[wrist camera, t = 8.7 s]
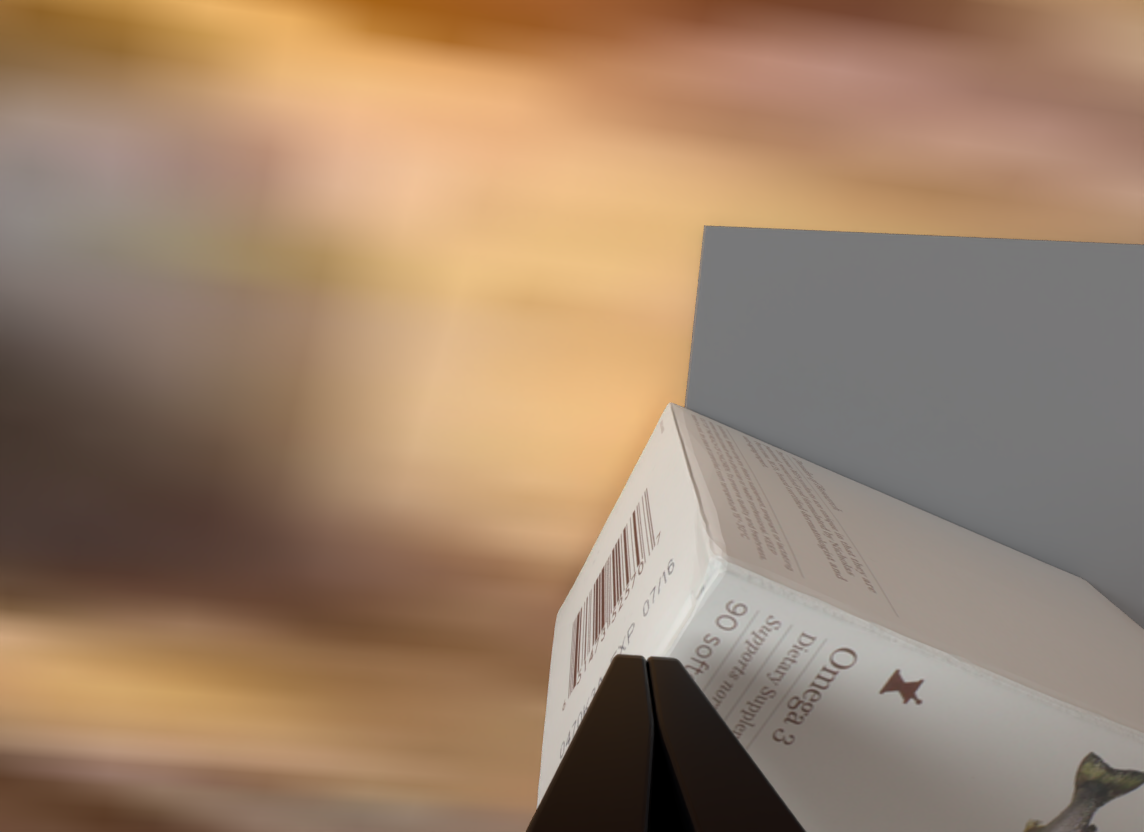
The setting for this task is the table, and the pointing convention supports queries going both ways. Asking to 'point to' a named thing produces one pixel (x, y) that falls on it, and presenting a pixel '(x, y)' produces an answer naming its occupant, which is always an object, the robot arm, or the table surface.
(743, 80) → the table surface
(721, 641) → the supplement box
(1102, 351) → the mat
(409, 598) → the table surface
